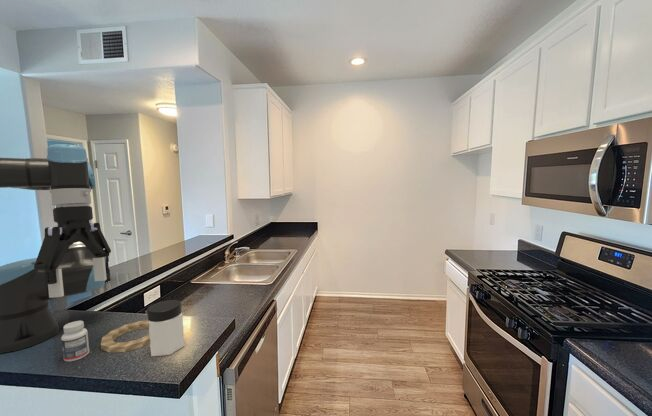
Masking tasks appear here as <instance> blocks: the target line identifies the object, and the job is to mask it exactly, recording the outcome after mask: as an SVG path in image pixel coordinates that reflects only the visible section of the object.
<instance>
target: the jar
mask: <svg viewBox="0 0 652 416" xmlns="http://www.w3.org/2000/svg"><path fill="white" fill-rule="evenodd" d="M146 314H147V315H146V316H147V317H146V318H147V321H148V327H149V328H148V335H149V340H150V343H149V351H150V356H151V357H160V356H161V357H162V356H164V357H165V356H170V355H172V354H174V353H176V352H177V351H178V350H180V349H182V348H183V347H185V335H184V320H183V312H182V302H181V301H180V300H178V299H168V300H164V301H158V302H156V303H153V304H152V305H150V306H148V307H147V308H146Z"/></svg>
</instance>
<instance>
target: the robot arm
mask: <svg viewBox="0 0 652 416" xmlns="http://www.w3.org/2000/svg"><path fill="white" fill-rule="evenodd" d="M46 148H47V149H46V151H47V154H46V158H37V157H29V158H28V157H27V158H19V157H0V188H3V189H4V188H6V189H7V188H12V189H21V190H28V191H49V193H50V197H51V205H52V206H55V207H53V209H52V216H53V223H57V226H47V227H45V228H44V238H43V241H42V243H41V246H40V249H39V252H38V254H37V257H33V258H28V259H22V260H18V261H17V260H16V261H14V262H10V263H6V264H3V265H0V354H5V352H6V353H11V351H12V352H14V351H20V350H23V349H27V348H29V347H32V346H35V345H37V344H40V343H42V342H44V341H45V342H46V340H49V339H50V338H52V337H54V336H56V335H57V334H58V332H60V325H59V321H58V320H56V319H55V316H54V314H53V313H52V310H51V309H50V305H49V304H50V303H49V300H54V299H55V300H56V299H59V298H64V297H68V296H73V295H80V294H84V293H90V292H92V291H96V290H100V289H102V288H103V287H104V286H105V285H106V283H105V280H107V278H106V256H110V254H111V251H112V249H111V247H110V246H109V244H108V242H107V240H106V238H105V236H104V234H103V231H102V229H101V224H100V223H99V222H91V221H92V220H93V218H94V214H93V207H92V206H91V205H90V204H92V198H91V192H92V190H94V189H95V188H96V180H95V176H94V171H93V168H92V165H91V164H90V162H89V158H88V155H87V150H86V149H85V148H84V147H83V146H80V145H75V144H69V143H68V144H65V143H61V144H60V143H58V144H57V143H55V144H51V145H49V146H47V147H46Z"/></svg>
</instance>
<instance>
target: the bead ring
mask: <svg viewBox="0 0 652 416" xmlns="http://www.w3.org/2000/svg"><path fill="white" fill-rule="evenodd" d="M141 329H143V330H144V329H149V327H148V320H140V321H139V320H138V321H136V322H131V323H128V324H124V325H122V326H119V327H117V328H115V329H112V330H110V331H109V332H108V333H107V334H106V335H104V336H102V337H101V342H100V349H101V350H102V351H103V352H107V353H109V354H114V353H126V352H129V351H132V350H137V349H140V348H143V347H145V346H147V345H150V340H149V334H147V335H145V336H142V337H141V338H137V339H134V340H130V341H125V342H124V341H122V342H116V341H114V340H116V339H117V338H118V337H121V336H122V335H124V334H126V333H129V332H132V331H136V330H141Z"/></svg>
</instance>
